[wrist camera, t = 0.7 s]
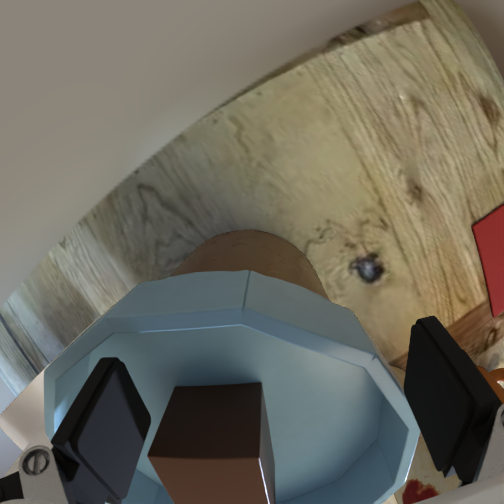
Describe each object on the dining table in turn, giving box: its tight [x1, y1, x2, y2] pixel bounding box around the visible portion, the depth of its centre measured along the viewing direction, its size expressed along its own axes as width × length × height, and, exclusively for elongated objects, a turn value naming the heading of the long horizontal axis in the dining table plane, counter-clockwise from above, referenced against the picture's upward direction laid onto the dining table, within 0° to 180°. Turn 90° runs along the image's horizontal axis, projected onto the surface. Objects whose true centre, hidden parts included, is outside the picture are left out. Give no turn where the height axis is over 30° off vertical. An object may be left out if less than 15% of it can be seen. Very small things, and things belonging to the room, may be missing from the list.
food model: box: [390, 366, 460, 504], centre depth 22 cm, size 10×7×20 cm
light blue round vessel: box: [44, 230, 420, 504], centre depth 20 cm, size 16×16×20 cm
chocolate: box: [147, 382, 275, 504], centre depth 12 cm, size 6×4×4 cm, turn 8°
